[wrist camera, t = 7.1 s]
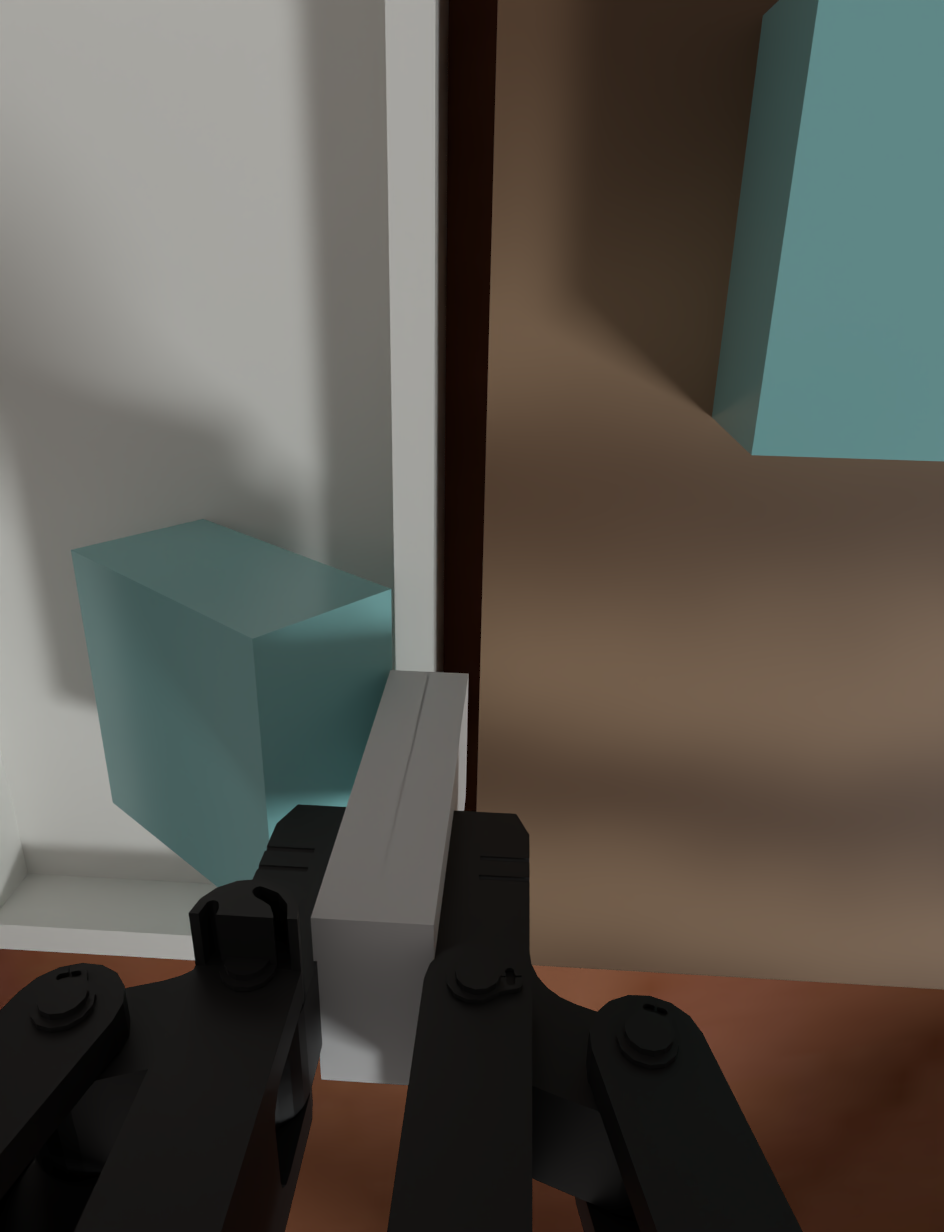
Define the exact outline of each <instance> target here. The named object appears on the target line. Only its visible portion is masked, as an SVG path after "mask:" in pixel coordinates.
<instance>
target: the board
mask: <svg viewBox="0 0 944 1232" xmlns="http://www.w3.org/2000/svg"><path fill="white" fill-rule="evenodd" d="M778 1H779V0H498V11H497V49H496V87H495V125H494V163H493V201H492V239H491V277H490V315H489V353H488V391H487V428H486V466H485V504H484V542H483V580H482V618H481V656H480V694H479V732H478V770H477V808H476V812H492V813H511V814H517V816H518V817H519V819H520V820H521V822H522V824H523V825H524V827H525V829H526V830H527V832H528V833H529V846H530V859H529V863H530V879H529V882H530V958H531V964H532V965H539V966H556V967H573V968H590V969H607V970H624V971H641V972H658V973H674V974H691V975H708V976H725V977H742V978H759V979H776V980H793V981H809V982H826V983H843V984H860V985H877V986H894V987H911V988H927V989H944V461H915V460H884V459H853V458H822V457H791V456H761V455H751V454H750V453H749V452H748V451H747V450H746V449H744V448H743V447H742V446H741V445H740V444H739V443H738V442H737V441H736V440H735V439H734V438H733V437H732V436H731V435H730V434H729V433H728V432H727V431H726V430H725V429H724V428H723V427H721V426H720V425H719V424H718V423H717V422H716V421H715V420H714V419H713V418H712V412H713V404H714V396H715V388H716V380H717V372H718V365H719V357H720V349H721V341H722V333H723V325H724V317H725V310H726V302H727V294H728V286H729V278H730V270H731V262H732V255H733V247H734V239H735V231H736V223H737V215H738V207H739V200H740V192H741V184H742V176H743V168H744V160H745V152H746V144H747V137H748V129H749V121H750V113H751V105H752V97H753V89H754V82H755V74H756V66H757V58H758V50H759V42H760V34H761V27H762V19H763V15H764V14H765V13H766V12H767V11H768V10H769V9H770V8H771V7H772V6H773V5H774V4H776V3H777V2H778Z"/></svg>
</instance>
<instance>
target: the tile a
mask: <svg viewBox="0 0 944 1232" xmlns="http://www.w3.org/2000/svg"><path fill="white" fill-rule="evenodd" d="M71 555H72V561H73V567H74V573H75V579H76V585H77V591H78V597H79V603H80V609H81V615H82V621H83V627H84V633H85V639H86V645H87V651H88V657H89V663H90V669H91V675H92V681H93V687H94V693H95V699H96V705H97V711H98V717H99V723H100V729H101V735H102V741H103V747H104V753H105V759H106V765H107V771H108V777H109V783H110V789H111V795H112V801H113V803H114V804H115V805H116V806H118V807H119V808H120V809H121V810H123V811H124V812H125V813H126V814H127V815H129V816H130V817H131V818H132V819H134V820H135V821H136V822H137V823H139V824H140V825H141V826H142V827H144V828H145V829H146V830H147V831H149V832H150V833H151V834H152V835H154V836H155V837H156V838H157V839H159V840H160V841H161V842H162V843H163V844H165V845H166V846H167V847H168V848H170V849H171V850H172V851H173V852H175V853H176V854H177V855H178V856H180V857H181V858H182V859H183V860H185V861H186V862H187V863H188V864H190V865H191V866H192V867H193V868H194V869H196V870H197V871H198V872H199V873H201V874H202V875H203V876H204V877H206V878H207V879H208V880H209V881H211V882H212V883H213V884H214V885H216V886H217V887H220V886H223V885H226V884H229V883H232V882H235V881H240V880H252V879H253V877H254V875H255V872H256V870H257V869H258V868H259V863H260V861H261V858H262V856H263V854H264V851H266V850H267V845H268V842H269V840H270V838H271V835H272V833H273V831H274V828H275V826H276V824H277V823H278V822H279V821H280V820H281V819H282V818H283V817H284V816H285V815H287V814H288V813H289V812H290V811H291V810H292V809H293V808H294V807H296V806H297V805H298V804H301V805H320V806H339V807H346V806H347V803H348V800H349V797H350V794H351V791H352V788H353V785H354V782H355V779H356V775H357V772H358V769H359V766H360V763H361V760H362V757H363V754H364V751H365V747H366V744H367V741H368V738H369V735H370V732H371V729H372V726H373V723H374V720H375V716H376V713H377V710H378V707H379V704H380V701H381V698H382V695H383V692H384V688H385V685H386V682H387V679H388V676H389V673H390V670H392V612H391V589H390V588H387V587H385V586H382V585H379V584H377V583H374V582H371V581H369V580H366V579H363V578H361V577H358V576H355V575H353V574H350V573H347V572H345V571H342V570H339V569H336V568H334V567H331V566H328V565H326V564H323V563H320V562H318V561H315V560H312V559H310V558H307V557H304V556H302V555H299V554H296V553H294V552H291V551H288V550H286V549H283V548H280V547H278V546H275V545H272V544H270V543H267V542H264V541H261V540H259V539H256V538H253V537H251V536H248V535H245V534H243V533H240V532H237V531H235V530H232V529H229V528H227V527H224V526H221V525H219V524H216V523H213V522H211V521H208V520H205V519H200V520H196V521H192V522H187V523H183V524H179V525H175V526H170V527H166V528H162V529H158V530H153V531H149V532H145V533H140V534H136V535H132V536H128V537H123V538H119V539H115V540H111V541H106V542H102V543H98V544H93V545H89V546H85V547H81V548H76V549H72V550H71Z"/></svg>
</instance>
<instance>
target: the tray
mask: <svg viewBox="0 0 944 1232" xmlns="http://www.w3.org/2000/svg"><path fill="white" fill-rule="evenodd" d="M448 42H449V0H0V949H15V950H32V951H48V952H65V953H82V954H98V955H115V956H132V957H148V958H165V959H182V960H195V957H194V949H193V942H192V935H191V927H190V920H189V912H190V910H191V909H192V908H193V907H194V905H195V904H196V903H197V902H198V900H199V899H200V898H202V897H203V896H205V895H206V894H208V893H209V892H211V891H212V890H214V889H215V888H217V886H216V885H214V884H213V883H212V882H211V881H209V880H208V879H207V878H206V877H204V876H203V875H202V874H201V873H199V872H198V871H197V870H196V869H194V868H193V867H192V866H191V865H190V864H188V863H187V862H186V861H185V860H183V859H182V858H181V857H180V856H178V855H177V854H176V853H175V852H173V851H172V850H171V849H170V848H168V847H167V846H166V845H165V844H163V843H162V842H161V841H160V840H159V839H157V838H156V837H155V836H154V835H152V834H151V833H150V832H149V831H147V830H146V829H145V828H144V827H142V826H141V825H140V824H139V823H137V822H136V821H135V820H134V819H132V818H131V817H130V816H129V815H127V814H126V813H125V812H124V811H123V810H121V809H120V808H119V807H118V806H116V805H115V804H114V803H113V801H112V795H111V789H110V783H109V777H108V771H107V765H106V759H105V753H104V747H103V741H102V735H101V729H100V723H99V717H98V711H97V705H96V699H95V693H94V687H93V681H92V675H91V669H90V663H89V657H88V651H87V645H86V639H85V633H84V627H83V621H82V615H81V609H80V603H79V597H78V591H77V585H76V579H75V573H74V567H73V561H72V555H71V550H72V549H76V548H81V547H85V546H89V545H93V544H98V543H102V542H106V541H111V540H115V539H119V538H123V537H128V536H132V535H136V534H140V533H145V532H149V531H153V530H158V529H162V528H166V527H170V526H175V525H179V524H183V523H187V522H192V521H196V520H200V519H205V520H208V521H211V522H213V523H216V524H219V525H221V526H224V527H227V528H229V529H232V530H235V531H237V532H240V533H243V534H245V535H248V536H251V537H253V538H256V539H259V540H261V541H264V542H267V543H270V544H272V545H275V546H278V547H280V548H283V549H286V550H288V551H291V552H294V553H296V554H299V555H302V556H304V557H307V558H310V559H312V560H315V561H318V562H320V563H323V564H326V565H328V566H331V567H334V568H336V569H339V570H342V571H345V572H347V573H350V574H353V575H355V576H358V577H361V578H363V579H366V580H369V581H371V582H374V583H377V584H379V585H382V586H385V587H387V588H390V589H391V612H392V670H401V671H422V672H444V551H445V424H446V297H447V170H448Z"/></svg>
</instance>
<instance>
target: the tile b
mask: <svg viewBox="0 0 944 1232" xmlns="http://www.w3.org/2000/svg"><path fill="white" fill-rule="evenodd" d="M712 418H713V419H714V420H715V421H716V422H717V423H718V424H719V425H720V426H721V427H723V428H724V429H725V430H726V431H727V432H728V433H729V434H730V435H731V436H732V437H733V438H734V439H735V440H736V441H737V442H738V443H739V444H740V445H741V446H742V447H743V448H744V449H746V450H747V451H748V452H749V453H750V454H751V455H761V456H791V457H822V458H853V459H884V460H915V461H944V0H779V1H778V2H777V3H776V4H774V5H773V6H772V7H771V8H770V9H769V10H768V11H767V12H766V13H765V14H764V15H763V19H762V27H761V34H760V42H759V50H758V58H757V66H756V74H755V82H754V89H753V97H752V105H751V113H750V121H749V129H748V137H747V144H746V152H745V160H744V168H743V176H742V184H741V192H740V200H739V207H738V215H737V223H736V231H735V239H734V247H733V255H732V262H731V270H730V278H729V286H728V294H727V302H726V310H725V317H724V325H723V333H722V341H721V349H720V357H719V365H718V372H717V380H716V388H715V396H714V404H713V412H712Z"/></svg>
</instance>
